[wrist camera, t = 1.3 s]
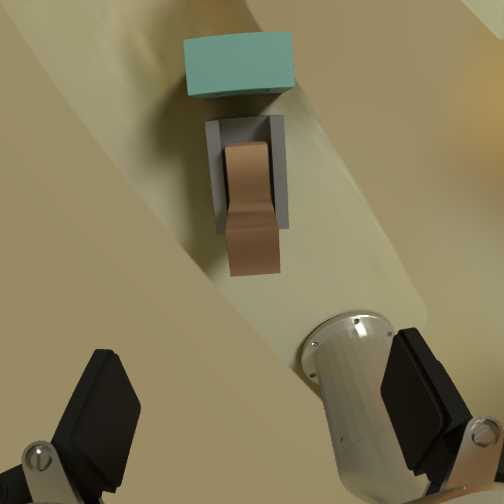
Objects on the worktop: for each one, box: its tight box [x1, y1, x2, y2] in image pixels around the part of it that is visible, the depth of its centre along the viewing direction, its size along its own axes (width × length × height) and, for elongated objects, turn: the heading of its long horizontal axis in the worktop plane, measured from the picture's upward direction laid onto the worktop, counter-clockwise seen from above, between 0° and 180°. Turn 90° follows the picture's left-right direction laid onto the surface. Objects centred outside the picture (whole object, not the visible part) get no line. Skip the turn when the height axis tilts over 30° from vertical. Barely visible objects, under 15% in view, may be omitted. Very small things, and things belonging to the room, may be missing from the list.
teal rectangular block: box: [184, 32, 295, 99], centre depth 22 cm, size 4×7×8 cm, turn 94°
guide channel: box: [205, 115, 289, 234], centre depth 26 cm, size 9×6×5 cm, turn 4°
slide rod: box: [225, 140, 280, 277], centre depth 22 cm, size 7×3×9 cm, turn 4°
